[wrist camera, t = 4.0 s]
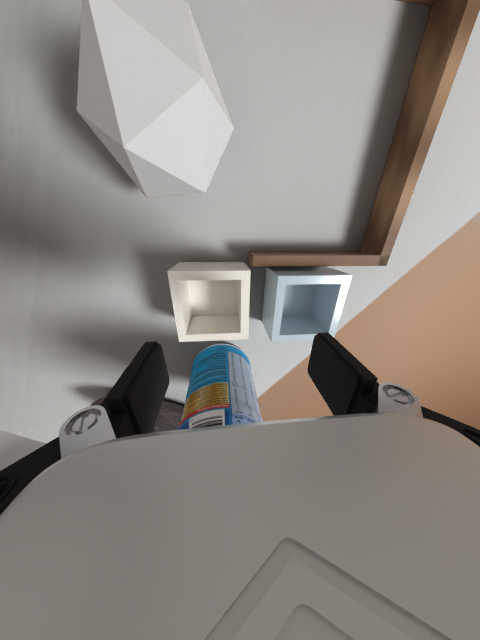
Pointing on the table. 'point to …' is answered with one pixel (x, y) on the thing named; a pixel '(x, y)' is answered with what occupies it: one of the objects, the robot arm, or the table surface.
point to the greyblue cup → (302, 301)
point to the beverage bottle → (220, 389)
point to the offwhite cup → (210, 300)
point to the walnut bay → (403, 138)
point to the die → (152, 93)
